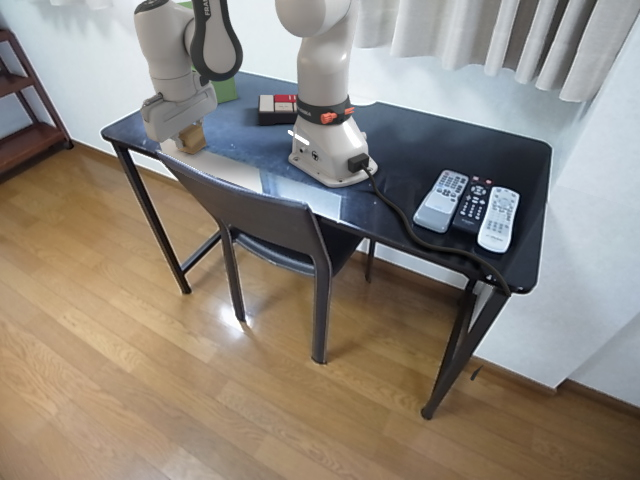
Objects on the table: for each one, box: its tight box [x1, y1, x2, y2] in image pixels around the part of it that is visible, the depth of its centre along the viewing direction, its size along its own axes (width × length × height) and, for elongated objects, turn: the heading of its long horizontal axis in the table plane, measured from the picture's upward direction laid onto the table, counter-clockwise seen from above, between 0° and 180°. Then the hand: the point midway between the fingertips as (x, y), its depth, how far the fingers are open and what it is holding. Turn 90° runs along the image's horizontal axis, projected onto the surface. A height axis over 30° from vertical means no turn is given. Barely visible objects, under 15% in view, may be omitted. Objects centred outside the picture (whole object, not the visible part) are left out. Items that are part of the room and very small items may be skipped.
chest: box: [191, 65, 238, 105], centre depth 113 cm, size 14×10×9 cm
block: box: [177, 123, 208, 155], centre depth 91 cm, size 5×5×5 cm
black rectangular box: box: [257, 94, 298, 126], centre depth 105 cm, size 11×4×15 cm
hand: (190, 141), depth 92 cm, fingers closed on block, 5 cm apart
